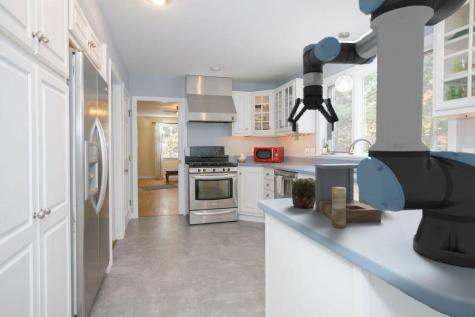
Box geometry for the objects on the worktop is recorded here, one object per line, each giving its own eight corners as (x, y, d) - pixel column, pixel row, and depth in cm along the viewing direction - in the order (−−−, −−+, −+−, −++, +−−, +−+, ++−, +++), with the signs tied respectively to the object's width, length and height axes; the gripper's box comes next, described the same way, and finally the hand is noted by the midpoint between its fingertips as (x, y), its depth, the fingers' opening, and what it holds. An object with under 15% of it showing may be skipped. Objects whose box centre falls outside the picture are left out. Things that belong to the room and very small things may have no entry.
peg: (348, 227, 82) (348, 188, 81) (335, 228, 81) (335, 189, 81) (341, 224, 86) (341, 186, 85) (329, 224, 85) (329, 187, 85)
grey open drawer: (363, 213, 99) (363, 164, 98) (324, 215, 97) (324, 165, 97) (351, 208, 107) (351, 163, 106) (315, 210, 105) (315, 164, 105)
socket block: (380, 221, 88) (380, 209, 88) (340, 223, 87) (340, 211, 86) (353, 209, 105) (353, 199, 105) (318, 211, 103) (318, 200, 103)
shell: (322, 209, 107) (322, 179, 106) (294, 209, 107) (294, 179, 106) (314, 203, 117) (314, 176, 117) (289, 203, 118) (289, 176, 117)
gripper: (338, 88, 111) (338, 139, 112) (279, 87, 108) (279, 140, 109) (347, 84, 104) (347, 139, 104) (284, 83, 101) (285, 139, 102)
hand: (313, 140), depth 107 cm, fingers open, 13 cm apart
